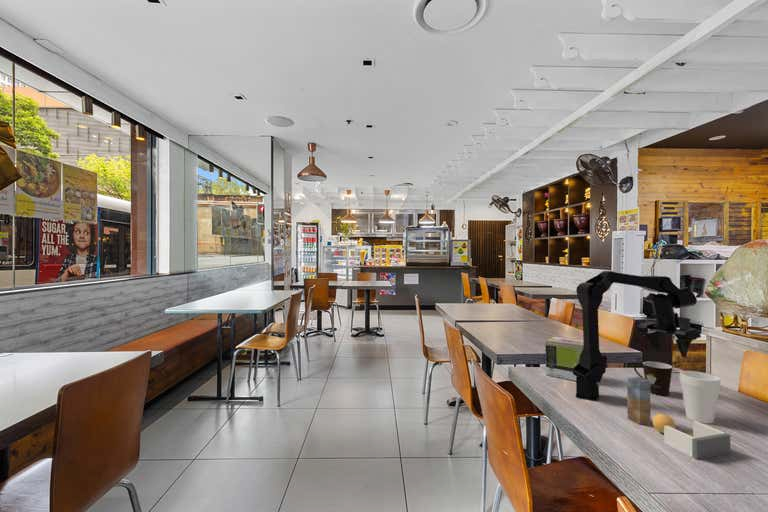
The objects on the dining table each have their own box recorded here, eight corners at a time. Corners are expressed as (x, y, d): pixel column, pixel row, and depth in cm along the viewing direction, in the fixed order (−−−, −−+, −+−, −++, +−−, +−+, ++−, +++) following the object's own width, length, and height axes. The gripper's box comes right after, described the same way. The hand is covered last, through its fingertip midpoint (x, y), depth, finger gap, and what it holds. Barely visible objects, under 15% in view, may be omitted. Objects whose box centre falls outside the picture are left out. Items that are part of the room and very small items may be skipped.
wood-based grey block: (627, 418, 111) (627, 377, 111) (638, 417, 112) (637, 376, 112) (639, 424, 107) (639, 381, 107) (650, 423, 108) (650, 380, 108)
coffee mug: (679, 397, 128) (678, 368, 128) (653, 397, 128) (653, 368, 128) (655, 385, 139) (654, 359, 139) (632, 385, 139) (631, 359, 139)
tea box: (592, 377, 149) (591, 341, 149) (585, 383, 142) (584, 345, 142) (553, 369, 159) (553, 335, 159) (545, 375, 152) (544, 339, 152)
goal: (664, 443, 96) (664, 425, 96) (696, 437, 99) (695, 421, 99) (696, 459, 89) (696, 440, 89) (730, 453, 91) (730, 434, 91)
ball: (653, 434, 101) (653, 416, 101) (651, 426, 106) (651, 409, 106) (676, 438, 99) (676, 420, 99) (673, 431, 103) (673, 413, 103)
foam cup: (711, 428, 105) (711, 382, 105) (673, 415, 113) (673, 373, 113) (726, 421, 109) (726, 377, 109) (689, 409, 117) (688, 369, 117)
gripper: (709, 309, 122) (717, 355, 122) (657, 303, 141) (664, 343, 141) (682, 316, 120) (691, 363, 120) (633, 309, 138) (640, 350, 139)
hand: (671, 354), depth 130 cm, fingers open, 9 cm apart
